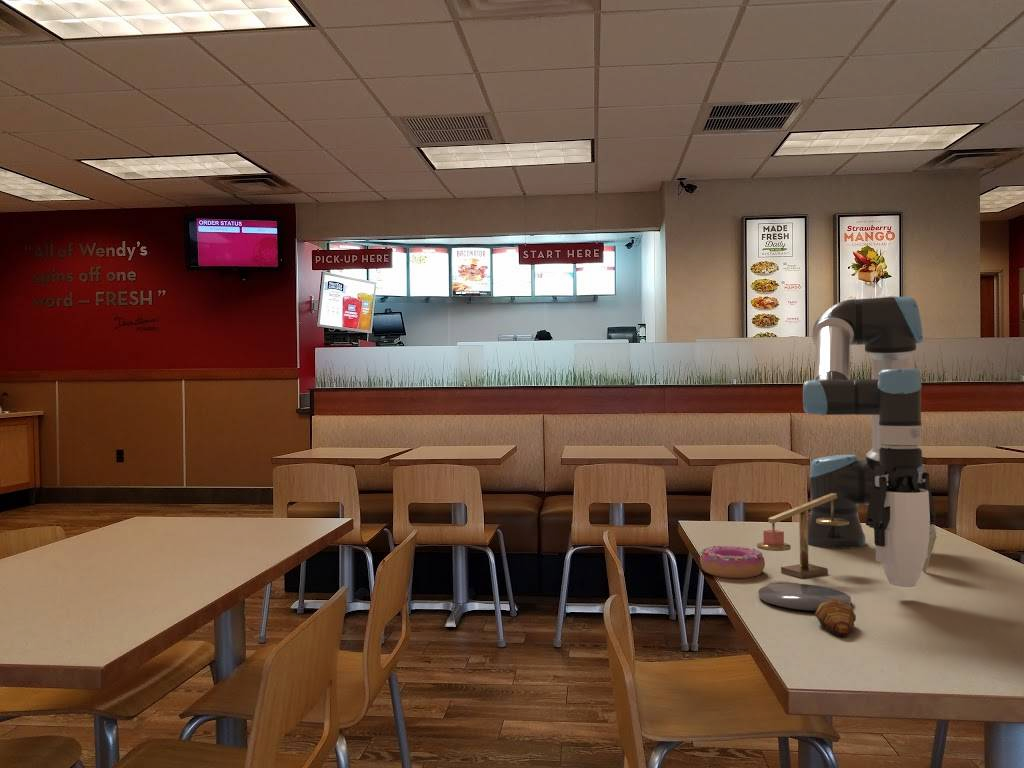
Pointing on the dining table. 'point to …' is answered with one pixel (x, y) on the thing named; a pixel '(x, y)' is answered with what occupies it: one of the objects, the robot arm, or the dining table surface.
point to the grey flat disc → (801, 595)
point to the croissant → (836, 617)
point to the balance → (776, 538)
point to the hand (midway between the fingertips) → (902, 559)
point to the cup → (907, 536)
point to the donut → (732, 561)
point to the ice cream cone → (930, 545)
